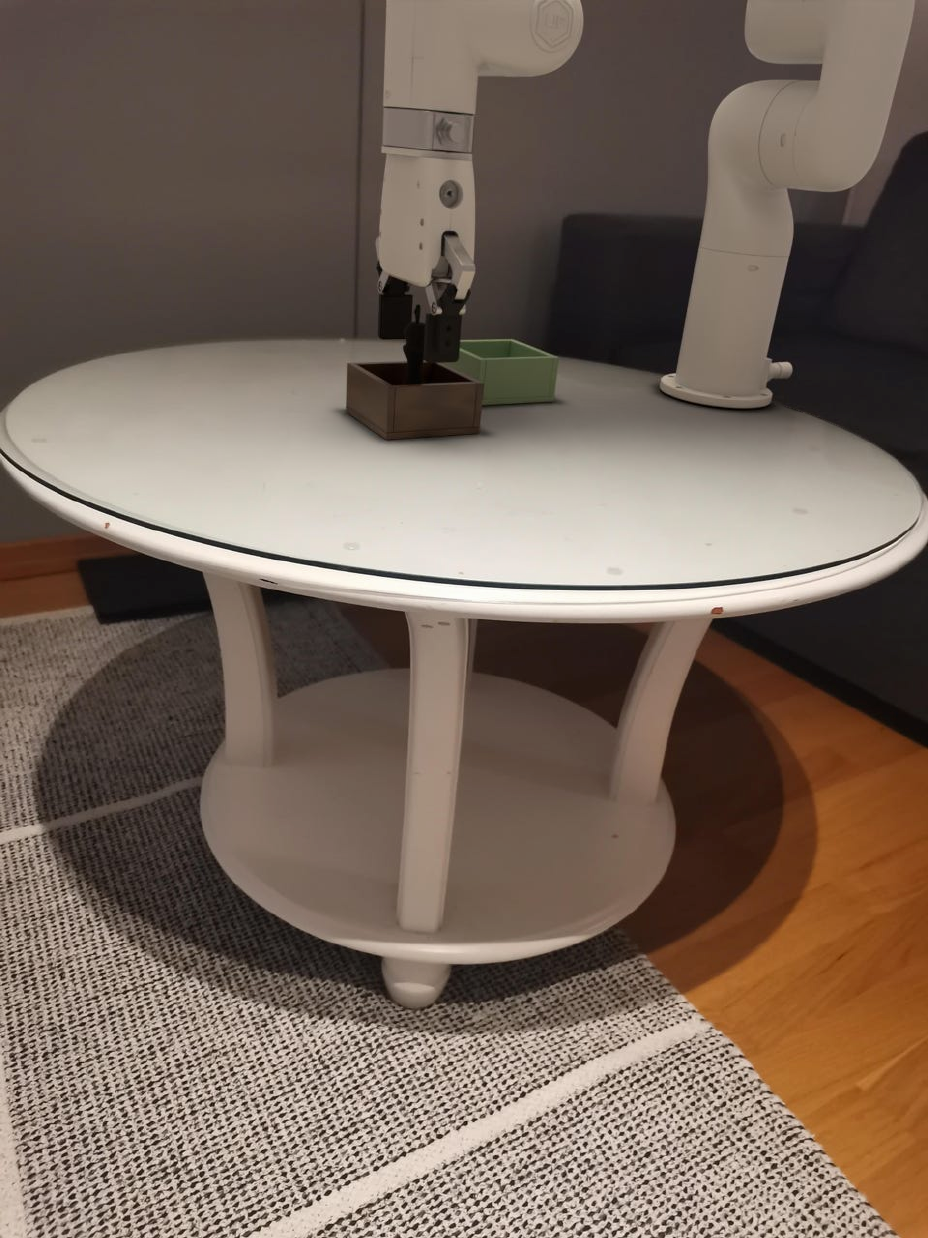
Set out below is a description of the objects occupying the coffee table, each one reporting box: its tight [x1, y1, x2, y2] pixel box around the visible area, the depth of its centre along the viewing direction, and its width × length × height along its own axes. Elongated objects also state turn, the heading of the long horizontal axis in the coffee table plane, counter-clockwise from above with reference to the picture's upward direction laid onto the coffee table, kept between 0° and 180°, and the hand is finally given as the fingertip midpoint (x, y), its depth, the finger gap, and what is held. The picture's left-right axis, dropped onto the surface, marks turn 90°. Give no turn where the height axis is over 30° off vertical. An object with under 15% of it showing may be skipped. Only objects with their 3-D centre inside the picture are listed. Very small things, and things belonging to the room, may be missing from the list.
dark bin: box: [345, 360, 484, 441], centre depth 87 cm, size 9×9×5 cm
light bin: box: [443, 338, 560, 406], centre depth 100 cm, size 9×9×5 cm
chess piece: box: [402, 304, 425, 385], centre depth 85 cm, size 4×4×10 cm
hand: (416, 349), depth 85 cm, fingers open, 9 cm apart
